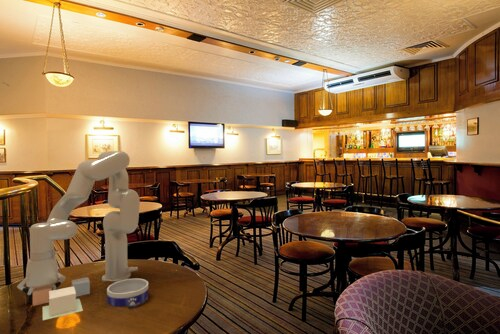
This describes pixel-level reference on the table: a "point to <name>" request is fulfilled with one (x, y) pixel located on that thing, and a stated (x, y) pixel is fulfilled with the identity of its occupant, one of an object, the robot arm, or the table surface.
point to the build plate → (47, 315)
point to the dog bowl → (128, 293)
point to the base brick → (62, 300)
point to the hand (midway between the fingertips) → (42, 301)
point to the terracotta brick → (41, 294)
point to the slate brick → (81, 286)
